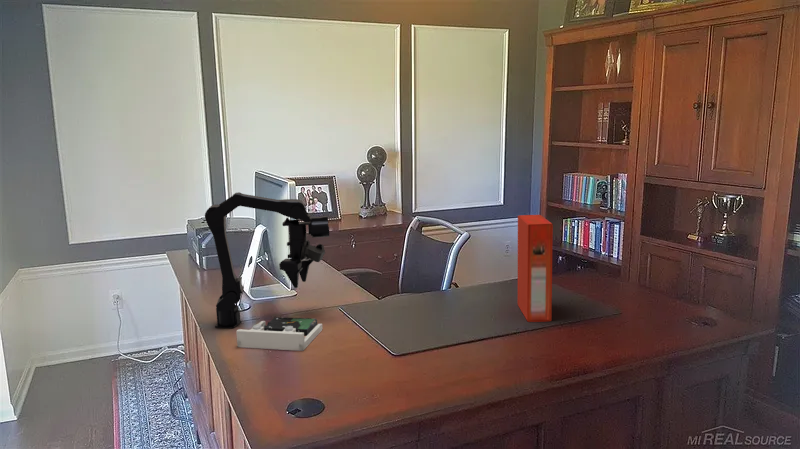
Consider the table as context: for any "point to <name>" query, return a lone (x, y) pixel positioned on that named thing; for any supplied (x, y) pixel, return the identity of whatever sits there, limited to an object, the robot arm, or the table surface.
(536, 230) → the file binder
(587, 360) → the table surface
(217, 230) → the robot arm
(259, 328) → the dock
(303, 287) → the table surface
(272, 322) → the disk drive
